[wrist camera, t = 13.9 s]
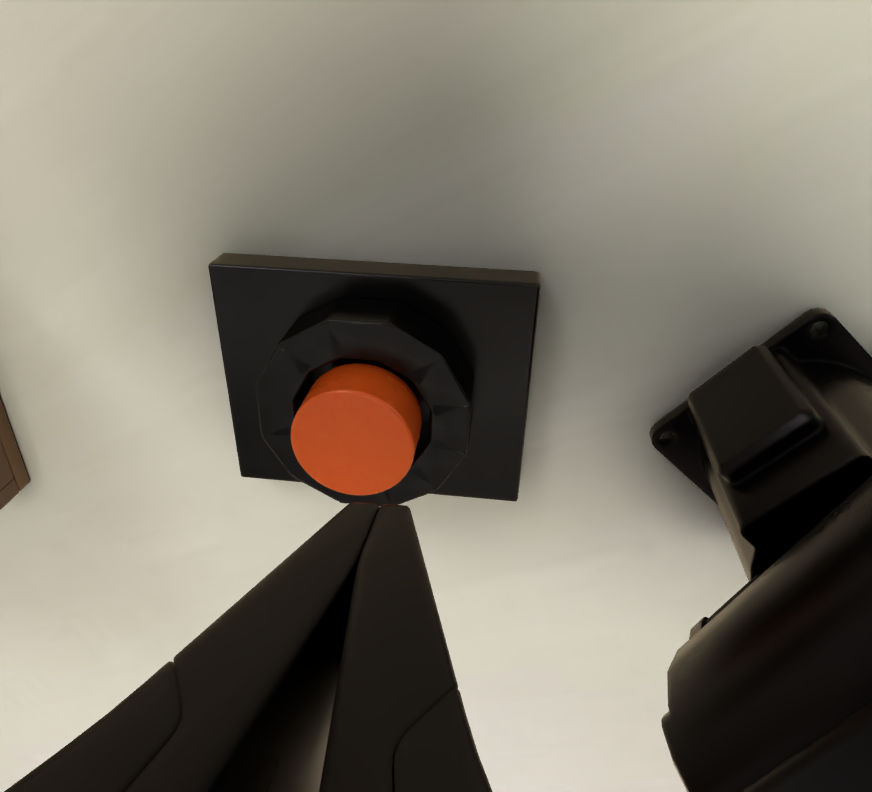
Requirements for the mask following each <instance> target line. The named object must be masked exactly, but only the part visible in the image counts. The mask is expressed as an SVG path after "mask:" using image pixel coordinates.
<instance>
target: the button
mask: <svg viewBox="0 0 872 792" xmlns="http://www.w3.org/2000/svg"><path fill="white" fill-rule="evenodd" d="M421 428H422V413H421V408H420V405H419V402H418V400H417V398H416V396H415V394H414V393H413V391H412V390H411V389H410V387H409V386H408V385H407V384H406V383H405V382H404V381H403V380H402V379H401V378H399V377H398V376H397V375H395V374H394V373H392V372H390V371H388V370H386V369H384V368H381V367H379V366H375V365H371V364H364V363H351V364H345V365H341V366H337V367H335V368H332V369H330V370H329V371H327V372H325V373H324V374H323V375H321V376H320V377H319V378H318V379H317V380H316V381H315V383H314V384H313V385H312V387H311V389H310V390H309V392H308V394H307V396H306V397H305V399H304V401H303V403H302V404H301V406H300V408H299V409H298V411H297V413H296V415H295V417H294V419H293V422H292V426H291V443H292V448H293V451H294V454H295V456H296V458H297V460H298V462H299V463H300V465H301V466H302V468H303V469H304V470H305V471H306V472H307V473H308V474H309V475H310V476H311V477H312V478H313V479H315V480H316V481H317V482H319V483H320V484H322V485H324V486H325V487H328V488H330V489H332V490H335V491H337V492H341V493H345V494H350V495H371V494H377V493H380V492H383V491H385V490H388V489H390V488H392V487H393V486H395V485H396V484H397V483H399V482H400V481H401V480H402V479H403V478H404V477H405V476H406V475H407V473H408V471H409V470H410V468H411V466H412V463H413V460H414V456H415V452H416V448H417V444H418V440H419V436H420V432H421Z"/></svg>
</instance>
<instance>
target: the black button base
mask: <svg viewBox="0 0 872 792" xmlns="http://www.w3.org/2000/svg"><path fill="white" fill-rule="evenodd" d="M209 272H210V279H211V285H212V292H213V298H214V305H215V311H216V317H217V324H218V330H219V337H220V343H221V349H222V356H223V362H224V369H225V375H226V382H227V388H228V394H229V401H230V407H231V414H232V420H233V427H234V433H235V439H236V446H237V452H238V459H239V465H240V471H241V476H242V477H251V478H262V479H273V480H284V481H295V482H303V483H305V484H307V485H309V486H311V487H313V488H314V489H316V490H318V491H320V492H322V493H324V494H326V495H327V496H329V497H331V498H333V499H335V500H337V501H339V502H340V503H354V502H358V503H373V504H377V505H378V506H382V505H384V504H388V505H398V504H401V503H404V502H407V501H409V500H412V499H415V498H417V497H420V496H423V495H426V494H428V493H429V494H440V495H451V496H462V497H473V498H484V499H495V500H506V501H517V499H518V492H519V482H520V473H521V464H522V454H523V445H524V436H525V426H526V417H527V408H528V398H529V389H530V380H531V370H532V361H533V351H534V342H535V333H536V323H537V314H538V305H539V295H540V274H539V272H535V271H518V270H502V269H485V268H468V267H451V266H434V265H417V264H400V263H383V262H366V261H349V260H332V259H316V258H299V257H282V256H265V255H248V254H231V253H223V254H222V255H220V256H219V257H218V258H216V259H215V260H214V261H212V262H211V263H210V264H209ZM351 363H364V364H371V365H375V366H379V367H381V368H384V369H386V370H388V371H390V372H392V373H394V374H395V375H397V376H398V377H399V378H401V379H402V380H403V381H404V382H405V383H406V384H407V385H408V386H409V387H410V389H411V390H412V391H413V393H414V394H415V396H416V398H417V400H418V402H419V405H420V408H421V413H422V428H421V432H420V436H419V440H418V444H417V448H416V452H415V456H414V460H413V463H412V466H411V468H410V470H409V471H408V473H407V475H406V476H405V477H404V478H403V479H402V480H401V481H400V482H399V483H397V484H396V485H395V486H393V487H392V488H390V489H388V490H385V491H383V492H380V493H377V494H371V495H350V494H345V493H341V492H337V491H335V490H332V489H330V488H328V487H325V486H324V485H322V484H320V483H319V482H317V481H316V480H315V479H313V478H312V477H311V476H310V475H309V474H308V473H307V472H306V471H305V470H304V469H303V468H302V466H301V465H300V463H299V462H298V460H297V458H296V456H295V454H294V451H293V448H292V443H291V426H292V422H293V419H294V417H295V415H296V413H297V411H298V409H299V408H300V406H301V404H302V403H303V401H304V399H305V397H306V396H307V394H308V392H309V390H310V389H311V387H312V385H313V384H314V383H315V381H316V380H317V379H318V378H319V377H320V376H321V375H323V374H324V373H325V372H327V371H329V370H330V369H332V368H335V367H337V366H341V365H345V364H351Z"/></svg>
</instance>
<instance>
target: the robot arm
mask: <svg viewBox="0 0 872 792" xmlns="http://www.w3.org/2000/svg"><path fill="white" fill-rule="evenodd" d="M819 321H824V323H823V326H822V327H821V328H820V329H819V330H817V331H815V332H810V329H811V327H812V325H813V324H814V323H816V322H819ZM665 433H672V434H673V435H672V436H671V437H670V438H668V439H661V438H660V437H661V435H662V434H665ZM650 438H651V441H652V444H653V445H654V447H655V448H656V449H657V450H658V451H659V452H660V453H661V454H663V455H664V456H665V457H666V458H667V459H668V460H669V461H670V462H671V463H673V464H674V465H675V466H676V467H677V468H678V469H679V470H680V471H681V472H683V473H684V474H685V475H686V476H687V477H688V478H689V479H690V480H691V481H693V482H694V483H695V484H696V485H697V486H698V487H699V488H700V489H701V490H703V491H704V492H705V493H706V494H707V495H708V496H709V497H710V498H711V499H713V500H714V501H715V502H716V503H717V504H718V506H719V508H720V511H721V513H722V516H723V518H724V521H725V523H726V525H727V528H728V530H729V533H730V535H731V538H732V540H733V543H734V545H735V548H736V550H737V553H738V555H739V558H740V560H741V563H742V565H743V568H744V570H745V573H746V575H747V577H748V580H749V582H748V583H747V584H746V585H745V586H744V587H743V588H742V589H740V590H739V591H738V592H737V593H736V594H735V595H734V596H733V597H732V598H730V599H729V600H728V601H727V602H726V603H725V604H724V605H723V606H722V607H721V608H719V609H718V610H717V611H716V612H715V613H714V614H713V615H712V616H711V617H709V618H707V617H704V618H703V619H701V620H700V621H699V622H698V623H697V624H696V625H695V626H694V627H693V628H692V629H691V631H690V638H689V640H688V641H687V642H686V643H685V644H684V645H683V646H682V647H681V648H680V649H678V650H677V652H676V655H675V657H674V659H673V661H672V663H671V666H670V668H669V670H668V707H669V712H668V713H666V714H665V715H664V716H663V718H662V728H663V732H664V735H665V738H666V742H667V745H668V748H669V751H670V754H671V757H672V760H673V763H674V765H675V767H676V769H677V771H678V773H679V776H680V778H681V780H682V782H683V784H684V786H685V788H686V790H687V792H872V357H871V356H870V355H869V354H868V353H867V352H866V351H865V350H864V349H863V347H862V346H861V345H860V344H859V343H858V342H857V341H856V340H855V339H854V338H853V337H852V335H851V334H850V333H849V332H848V331H847V330H846V329H845V328H844V327H843V326H842V325H841V323H840V322H839V321H838V320H837V319H836V318H835V317H834V316H833V315H832V314H831V313H830V312H828V311H827V310H825V309H820V308H816V309H811V310H809V311H807V312H805V313H803V314H802V315H801V316H799V317H798V318H797V319H795V320H794V321H793V322H791V323H790V324H789V325H787V326H786V327H785V328H783V329H782V330H781V331H779V332H778V333H777V334H775V335H774V336H773V337H771V338H770V339H769V340H767V341H766V342H764V343H763V344H762V345H760V346H755V347H752V348H751V349H750V350H748V351H747V352H746V353H744V354H743V355H741V356H740V357H739V358H737V359H736V360H735V361H733V362H732V363H731V364H729V365H728V366H727V367H725V368H724V369H723V370H721V371H720V372H719V373H717V374H716V375H715V376H713V377H712V378H711V379H709V380H708V381H707V382H705V383H704V384H703V385H701V386H700V387H699V388H697V389H696V390H695V391H693V392H692V393H691V394H690V395H689V399H688V400H687V401H685V402H684V403H682V404H681V405H680V406H678V407H677V408H676V409H674V410H673V411H672V412H670V413H669V414H668V415H666V416H665V417H664V418H662V419H661V420H660V421H658V422H657V423H656V424H655V425H654V426H653V427H652V428H651V431H650ZM4 792H492V789H491V787H490V784H489V782H488V779H487V776H486V774H485V771H484V769H483V766H482V763H481V761H480V758H479V756H478V752H477V749H476V746H475V743H474V740H473V736H472V733H471V730H470V727H469V723H468V720H467V717H466V713H465V710H464V706H463V702H462V698H461V695H460V692H459V690H458V685H457V681H456V677H455V674H454V670H453V666H452V663H451V659H450V655H449V651H448V648H447V644H446V640H445V637H444V633H443V629H442V625H441V622H440V618H439V614H438V611H437V607H436V603H435V599H434V596H433V592H432V588H431V585H430V581H429V577H428V574H427V570H426V566H425V562H424V559H423V555H422V551H421V548H420V544H419V540H418V536H417V533H416V529H415V525H414V522H413V518H412V514H411V511H410V508H409V507H407V506H403V505H388V504H384V505H382V506H381V507H379V506H378V505H377V504H373V503H358V502H354V503H350V504H348V505H347V506H346V507H345V508H344V509H342V510H341V511H340V512H339V513H338V514H337V515H336V516H334V517H333V518H332V519H331V520H330V521H329V522H328V523H326V524H325V525H324V526H323V527H322V528H321V529H320V530H319V531H317V532H316V533H315V534H314V535H313V536H312V537H311V538H309V539H308V540H307V541H306V542H305V543H304V544H303V545H301V546H300V547H299V548H298V549H297V550H296V551H295V552H293V553H292V554H291V555H290V556H289V557H288V558H287V559H285V560H284V561H283V562H282V563H281V564H280V565H279V566H277V567H276V568H275V569H274V570H273V571H272V572H271V573H269V574H268V575H267V576H266V577H265V578H264V579H263V580H261V581H260V582H259V583H258V584H257V585H256V586H255V587H254V588H252V589H251V590H250V591H249V592H248V593H247V594H246V595H244V596H243V597H242V598H241V599H240V600H239V601H238V602H236V603H235V604H234V605H233V606H232V607H231V608H230V609H228V610H227V611H226V612H225V613H224V614H223V615H222V616H220V617H219V618H218V619H217V620H216V621H215V622H214V623H212V624H211V625H210V626H209V627H208V628H207V629H206V630H204V631H203V632H202V633H201V634H200V635H199V636H198V637H196V638H195V639H194V640H193V641H192V642H191V643H190V644H189V645H187V646H186V647H185V648H184V649H183V650H182V651H181V652H179V653H178V654H177V655H176V656H175V657H174V663H173V662H168V663H166V664H165V665H164V666H163V667H162V668H161V669H160V670H159V671H157V672H156V673H155V674H154V675H153V676H152V677H151V678H149V679H148V680H147V681H146V682H145V683H144V684H142V685H141V686H140V687H139V688H138V689H136V690H135V691H134V692H133V693H132V694H130V695H129V696H128V697H127V698H126V699H125V700H123V701H122V702H121V703H120V704H119V705H117V706H116V707H115V708H114V709H113V710H111V711H110V712H109V713H108V714H107V715H105V716H104V717H103V718H101V719H100V720H99V721H98V722H96V723H95V724H94V725H92V726H91V727H90V728H88V729H87V730H86V731H85V732H83V733H82V734H81V735H79V736H78V737H77V738H75V739H74V740H73V741H72V742H70V743H69V744H68V745H66V746H65V747H64V748H62V749H61V750H60V751H58V752H57V753H56V754H54V755H53V756H52V757H50V758H49V759H48V760H46V761H45V762H44V763H42V764H41V765H40V766H38V767H37V768H36V769H34V770H33V771H31V772H30V773H29V774H27V775H26V776H25V777H23V778H22V779H21V780H19V781H18V782H17V783H15V784H14V785H13V786H11V787H10V788H8V789H7V790H6V791H4Z"/></svg>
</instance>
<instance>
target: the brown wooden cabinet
mask: <svg viewBox="0 0 872 792" xmlns="http://www.w3.org/2000/svg"><path fill="white" fill-rule="evenodd" d="M29 481H30V480H29V477H28V475H27V472H26V469H25V466H24V463H23V461H22V458H21V455H20V452H19V449H18V447H17V444H16V441H15V438H14V435H13V433H12V430H11V427H10V424H9V421H8V419H7V416H6V413H5V410H4V407H3V405H2V402H1V399H0V510H1V509H2V508H3V507H4V506H5V505H6V504H7V503H8V502H9V501H10V500H11V499H12V498H13V497H15V496H16V495H17V494H18V493H19V491H20V490H21V489H23V488H24V487H25V486H26V485H27V484H28V483H29Z"/></svg>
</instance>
